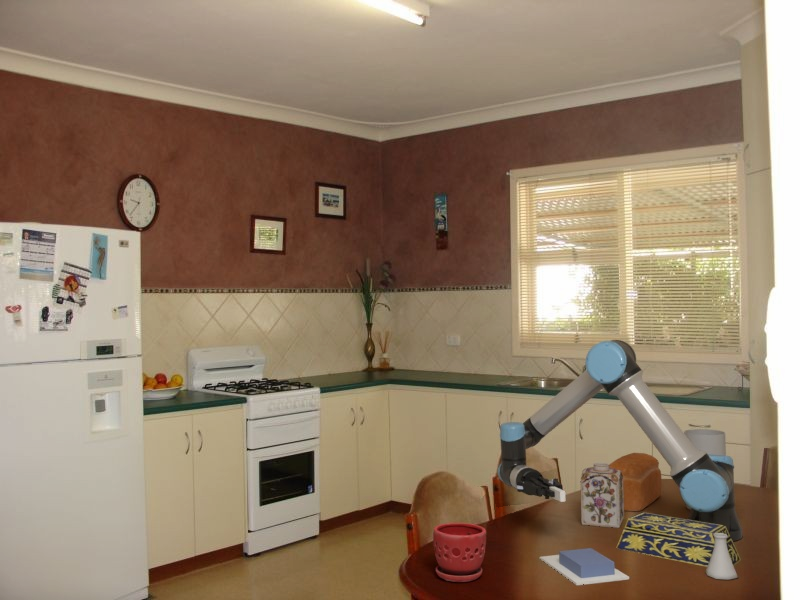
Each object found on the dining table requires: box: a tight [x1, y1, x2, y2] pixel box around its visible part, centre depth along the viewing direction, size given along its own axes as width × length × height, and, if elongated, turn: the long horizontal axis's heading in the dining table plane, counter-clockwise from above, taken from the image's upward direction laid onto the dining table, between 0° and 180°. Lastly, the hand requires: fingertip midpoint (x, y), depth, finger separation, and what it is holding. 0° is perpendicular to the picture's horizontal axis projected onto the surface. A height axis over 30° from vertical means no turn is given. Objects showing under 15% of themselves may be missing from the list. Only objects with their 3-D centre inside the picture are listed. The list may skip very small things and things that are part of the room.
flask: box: [705, 533, 739, 581], centre depth 190 cm, size 7×7×10 cm
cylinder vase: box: [683, 428, 727, 511], centre depth 253 cm, size 12×12×25 cm
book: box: [558, 547, 616, 578], centre depth 195 cm, size 3×9×12 cm
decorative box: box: [615, 511, 742, 568], centre depth 207 cm, size 11×30×9 cm, turn 48°
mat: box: [539, 554, 630, 586], centre depth 197 cm, size 21×14×1 cm, turn 14°
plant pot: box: [432, 522, 487, 583], centre depth 194 cm, size 13×13×12 cm
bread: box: [609, 452, 663, 512], centre depth 264 cm, size 14×26×16 cm, turn 146°
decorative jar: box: [580, 462, 625, 529], centre depth 240 cm, size 12×12×18 cm
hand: (562, 496), depth 206 cm, fingers closed
